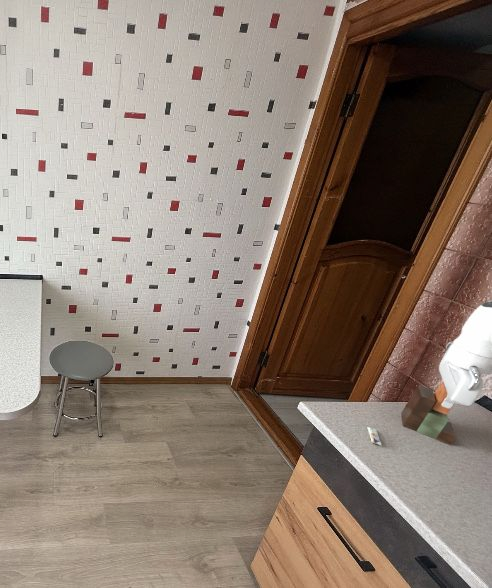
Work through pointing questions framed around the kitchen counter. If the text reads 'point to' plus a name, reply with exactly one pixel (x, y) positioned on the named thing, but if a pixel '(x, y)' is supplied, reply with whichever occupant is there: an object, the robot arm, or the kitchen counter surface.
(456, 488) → the kitchen counter surface
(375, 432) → the granola bar
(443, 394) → the matte orange cuboid
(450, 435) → the step rack
